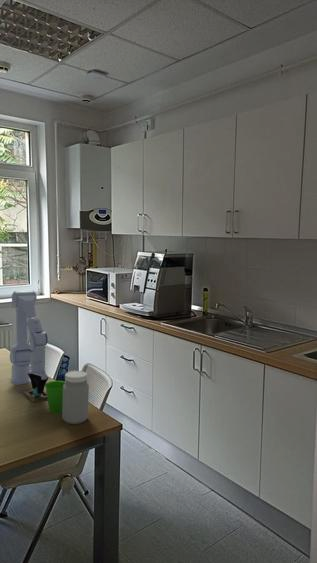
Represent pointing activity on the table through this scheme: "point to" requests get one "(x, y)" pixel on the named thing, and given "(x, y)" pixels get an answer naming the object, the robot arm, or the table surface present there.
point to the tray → (35, 399)
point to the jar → (75, 397)
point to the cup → (55, 396)
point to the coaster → (23, 391)
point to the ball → (36, 393)
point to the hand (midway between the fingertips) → (37, 391)
